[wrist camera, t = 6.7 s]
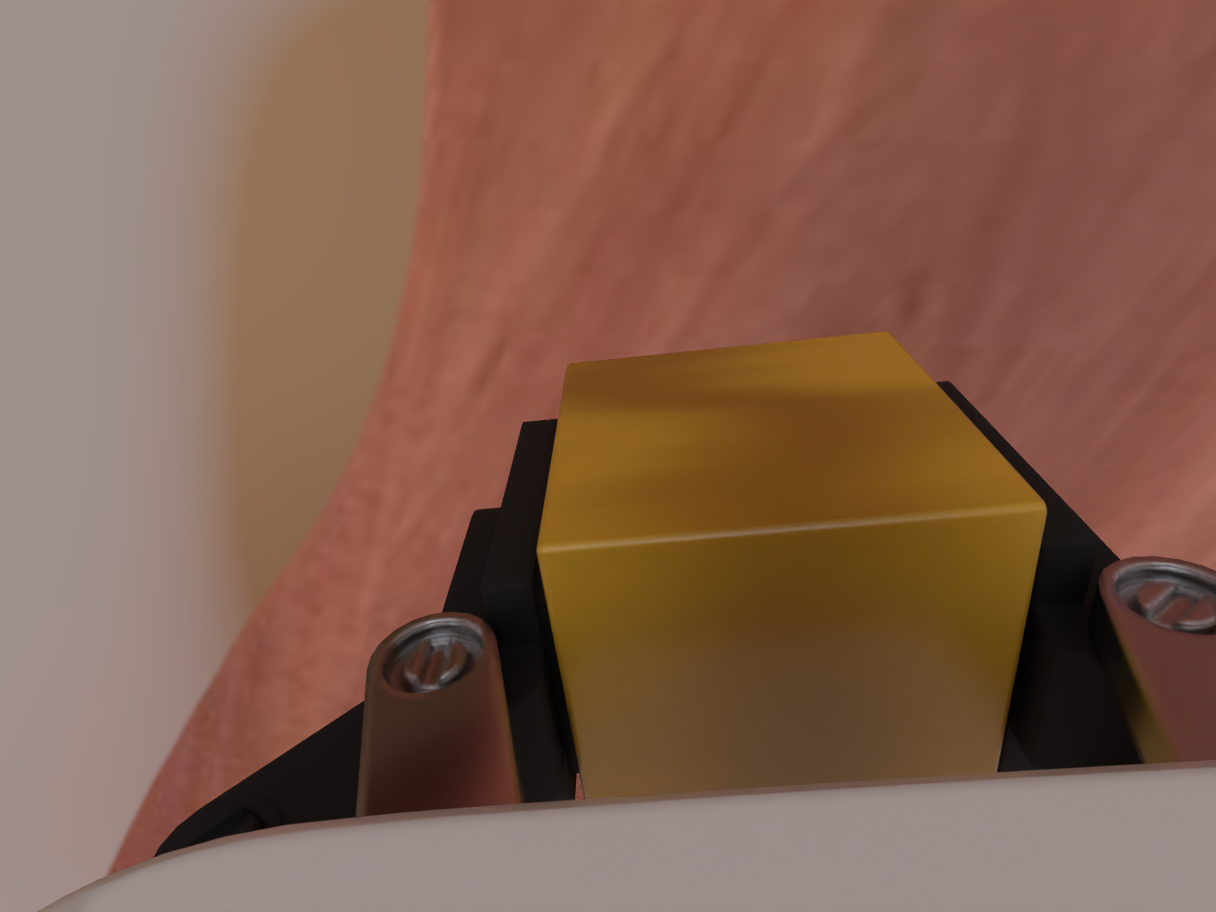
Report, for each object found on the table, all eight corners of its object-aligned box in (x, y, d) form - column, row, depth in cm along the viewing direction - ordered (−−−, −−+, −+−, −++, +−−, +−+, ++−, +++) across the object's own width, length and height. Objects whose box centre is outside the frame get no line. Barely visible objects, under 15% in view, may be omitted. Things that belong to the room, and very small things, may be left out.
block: (602, 608, 13) (595, 860, 9) (565, 361, 11) (534, 548, 7) (872, 587, 13) (988, 837, 9) (889, 328, 10) (1054, 504, 6)
